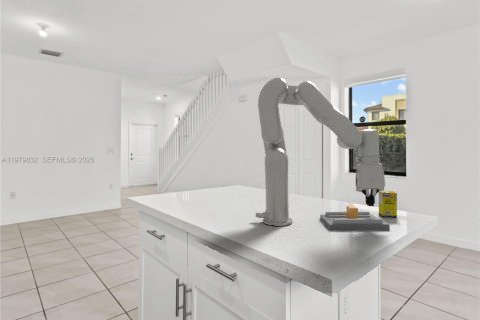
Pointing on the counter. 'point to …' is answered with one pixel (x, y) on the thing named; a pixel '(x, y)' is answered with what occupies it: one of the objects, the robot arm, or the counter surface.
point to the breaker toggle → (351, 212)
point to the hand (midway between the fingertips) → (370, 205)
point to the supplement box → (388, 204)
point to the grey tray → (354, 221)
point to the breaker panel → (329, 223)
